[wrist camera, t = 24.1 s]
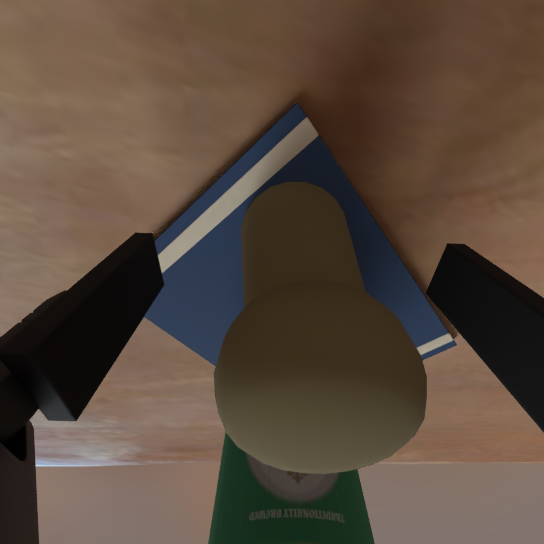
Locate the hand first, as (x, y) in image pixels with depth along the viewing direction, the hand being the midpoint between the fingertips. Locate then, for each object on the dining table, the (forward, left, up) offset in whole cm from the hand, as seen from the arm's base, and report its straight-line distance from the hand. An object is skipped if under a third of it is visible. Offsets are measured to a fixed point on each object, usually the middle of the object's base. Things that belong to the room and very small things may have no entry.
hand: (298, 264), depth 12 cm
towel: (+5, -4, -4) cm, 7 cm away
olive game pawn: (0, 0, -4) cm, 4 cm away
